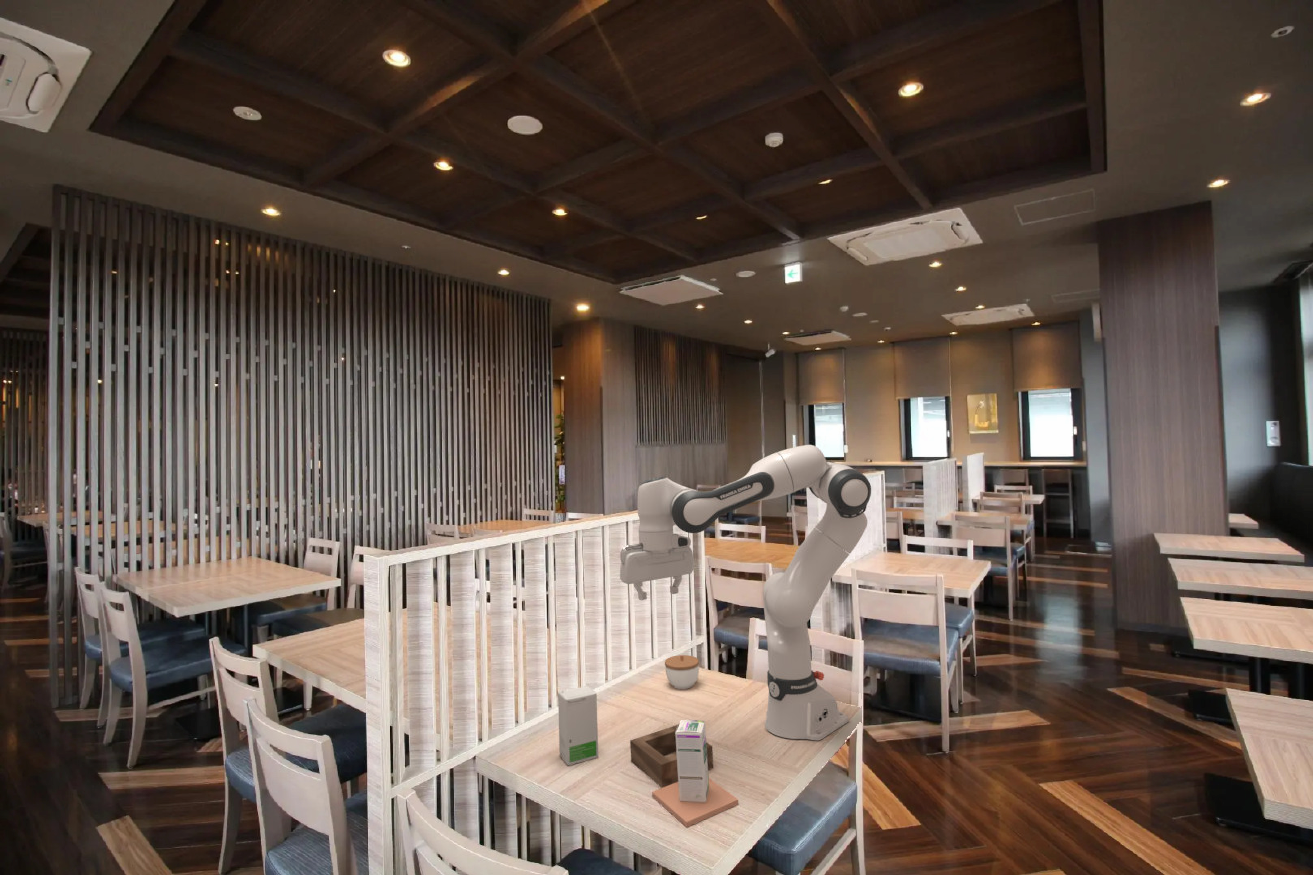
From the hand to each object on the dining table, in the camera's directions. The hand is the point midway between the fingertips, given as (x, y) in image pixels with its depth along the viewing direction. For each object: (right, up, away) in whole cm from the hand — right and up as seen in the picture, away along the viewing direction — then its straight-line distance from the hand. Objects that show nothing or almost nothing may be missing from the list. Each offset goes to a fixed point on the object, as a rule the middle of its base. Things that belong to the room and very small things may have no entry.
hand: (658, 596), depth 152 cm
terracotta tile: (+7, -36, -25) cm, 45 cm away
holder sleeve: (+3, -37, -11) cm, 38 cm away
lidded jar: (+8, -38, +37) cm, 54 cm away
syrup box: (+7, -35, -25) cm, 44 cm away
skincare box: (-20, -38, -5) cm, 43 cm away
